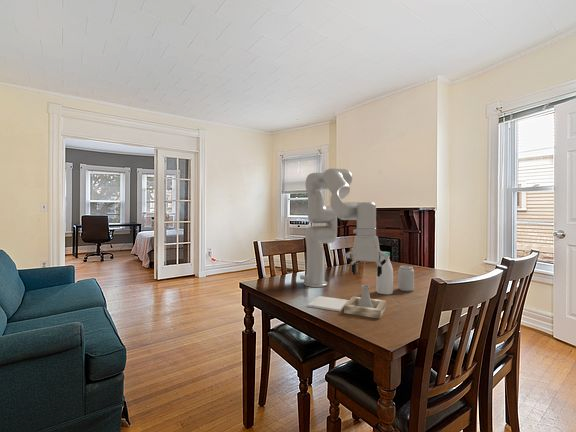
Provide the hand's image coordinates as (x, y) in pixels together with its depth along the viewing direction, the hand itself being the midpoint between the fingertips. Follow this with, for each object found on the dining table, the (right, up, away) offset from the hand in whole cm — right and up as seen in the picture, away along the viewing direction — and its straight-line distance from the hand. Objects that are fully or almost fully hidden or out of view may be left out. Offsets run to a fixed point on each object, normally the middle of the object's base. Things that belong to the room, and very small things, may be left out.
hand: (366, 275), depth 125 cm
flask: (0, -15, +1) cm, 15 cm away
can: (+28, -14, +32) cm, 45 cm away
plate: (-14, -14, +9) cm, 22 cm away
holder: (0, -15, +1) cm, 15 cm away
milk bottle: (+15, -14, +27) cm, 34 cm away
